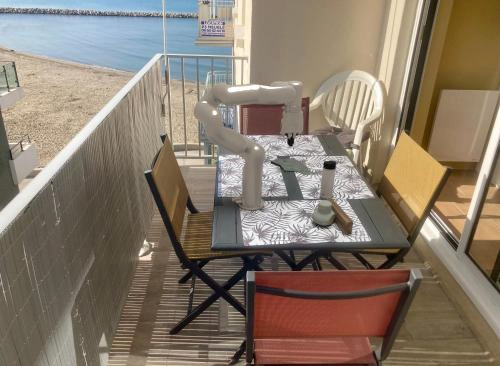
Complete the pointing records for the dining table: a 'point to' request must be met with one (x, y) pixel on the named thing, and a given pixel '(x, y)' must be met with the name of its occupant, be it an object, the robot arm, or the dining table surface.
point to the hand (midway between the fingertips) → (290, 145)
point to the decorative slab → (292, 166)
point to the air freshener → (323, 213)
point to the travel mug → (327, 179)
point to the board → (341, 218)
